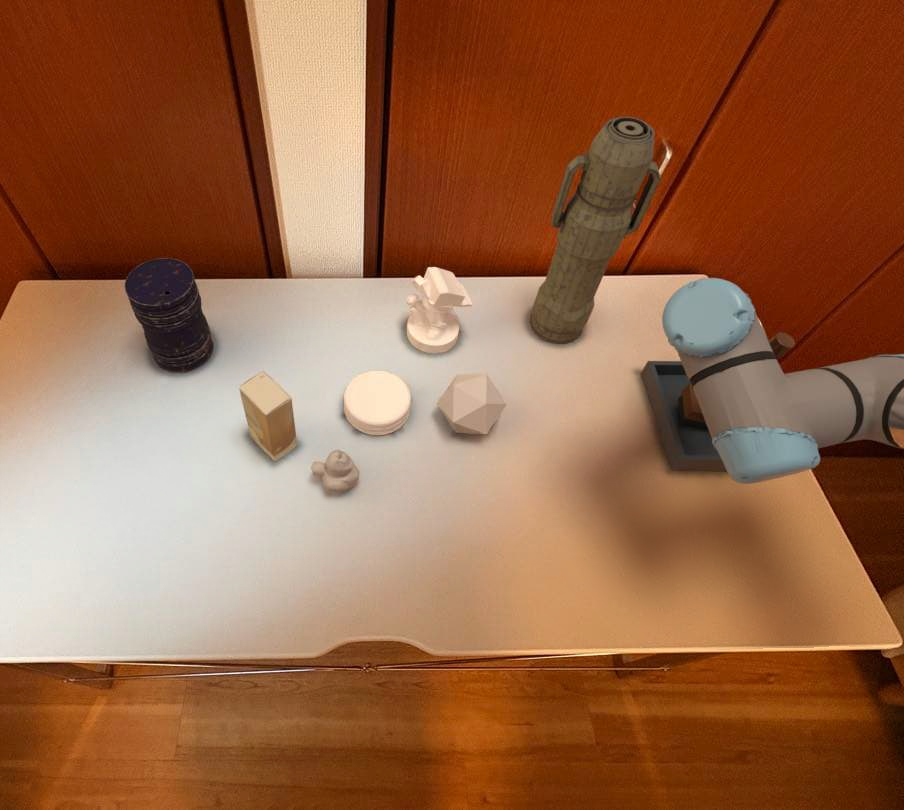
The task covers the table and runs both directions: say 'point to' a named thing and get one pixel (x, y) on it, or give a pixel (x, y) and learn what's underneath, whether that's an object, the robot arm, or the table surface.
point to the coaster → (377, 402)
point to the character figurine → (435, 311)
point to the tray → (678, 419)
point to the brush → (688, 400)
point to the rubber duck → (336, 472)
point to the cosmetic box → (269, 415)
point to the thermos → (594, 224)
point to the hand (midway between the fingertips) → (753, 380)
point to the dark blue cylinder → (170, 314)
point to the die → (471, 403)
